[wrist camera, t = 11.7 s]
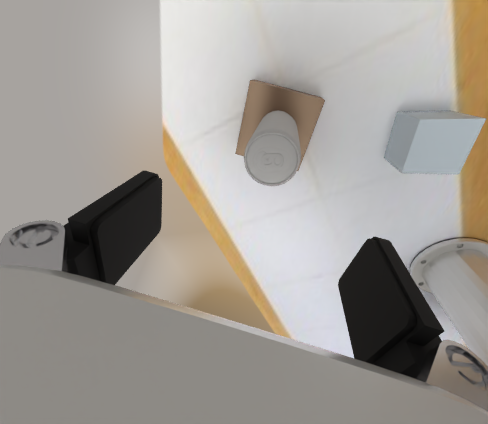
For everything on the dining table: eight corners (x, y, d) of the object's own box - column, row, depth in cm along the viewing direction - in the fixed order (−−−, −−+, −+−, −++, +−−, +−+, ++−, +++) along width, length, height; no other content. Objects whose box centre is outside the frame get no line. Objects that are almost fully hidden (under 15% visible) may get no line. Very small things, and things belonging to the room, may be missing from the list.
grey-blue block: (450, 110, 27) (486, 118, 22) (430, 158, 31) (458, 174, 26) (397, 111, 28) (420, 119, 23) (383, 157, 32) (401, 173, 27)
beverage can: (258, 110, 27) (241, 130, 17) (298, 109, 27) (304, 129, 17) (259, 149, 30) (243, 186, 20) (295, 149, 29) (299, 188, 19)
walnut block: (320, 97, 29) (325, 100, 26) (297, 161, 34) (298, 171, 31) (254, 79, 29) (250, 80, 26) (240, 146, 34) (235, 153, 31)
